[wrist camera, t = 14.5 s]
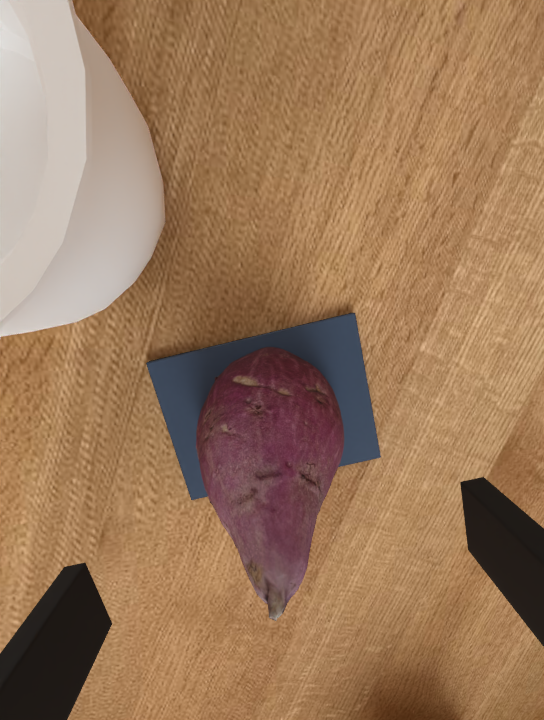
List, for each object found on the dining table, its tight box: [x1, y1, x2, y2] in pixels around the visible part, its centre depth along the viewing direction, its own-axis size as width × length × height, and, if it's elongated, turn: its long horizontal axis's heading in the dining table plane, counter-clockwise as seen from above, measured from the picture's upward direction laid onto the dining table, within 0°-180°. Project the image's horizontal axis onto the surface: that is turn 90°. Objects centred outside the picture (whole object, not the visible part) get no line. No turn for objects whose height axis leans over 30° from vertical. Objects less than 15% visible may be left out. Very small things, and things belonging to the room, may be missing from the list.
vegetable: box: [196, 347, 344, 621], centre depth 18 cm, size 10×10×15 cm
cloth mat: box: [146, 313, 381, 500], centre depth 24 cm, size 16×12×1 cm
